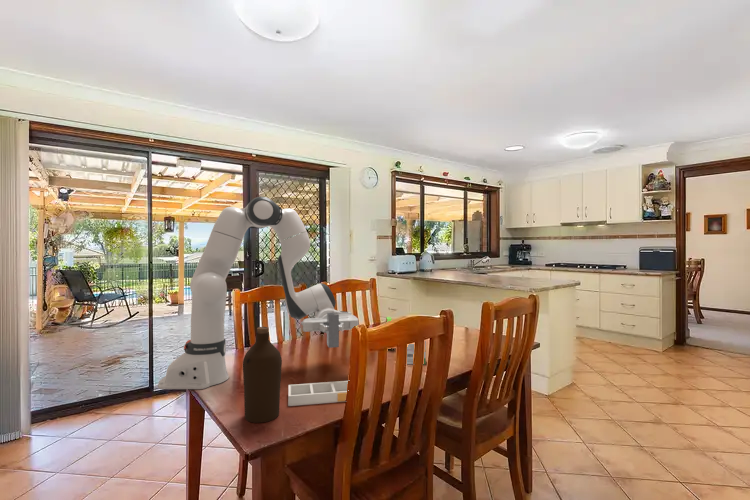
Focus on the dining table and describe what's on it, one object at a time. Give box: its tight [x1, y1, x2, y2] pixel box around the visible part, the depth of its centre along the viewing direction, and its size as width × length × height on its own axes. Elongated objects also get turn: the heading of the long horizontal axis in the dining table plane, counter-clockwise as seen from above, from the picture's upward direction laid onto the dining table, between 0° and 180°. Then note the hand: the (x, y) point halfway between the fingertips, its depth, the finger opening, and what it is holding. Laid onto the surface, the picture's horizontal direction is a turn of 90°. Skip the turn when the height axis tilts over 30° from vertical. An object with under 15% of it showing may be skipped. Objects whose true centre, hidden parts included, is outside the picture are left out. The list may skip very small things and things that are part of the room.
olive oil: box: [242, 326, 283, 424], centre depth 107 cm, size 11×11×25 cm
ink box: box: [406, 340, 427, 365], centre depth 158 cm, size 8×5×12 cm, turn 88°
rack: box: [287, 380, 349, 407], centre depth 120 cm, size 21×10×3 cm, turn 103°
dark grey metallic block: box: [326, 312, 340, 348], centre depth 131 cm, size 4×5×11 cm
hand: (333, 328), depth 130 cm, fingers closed on dark grey metallic block, 3 cm apart
